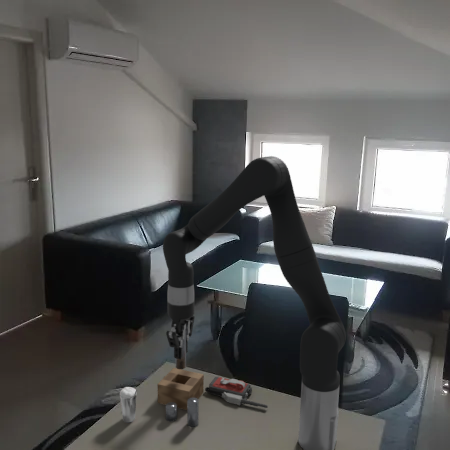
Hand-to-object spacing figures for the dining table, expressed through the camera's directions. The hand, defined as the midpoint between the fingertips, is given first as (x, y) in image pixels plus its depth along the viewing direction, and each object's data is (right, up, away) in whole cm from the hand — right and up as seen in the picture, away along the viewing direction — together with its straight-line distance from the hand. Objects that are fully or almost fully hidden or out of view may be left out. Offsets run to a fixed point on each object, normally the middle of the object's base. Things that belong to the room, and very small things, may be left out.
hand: (181, 355), depth 141 cm
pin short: (-2, -15, -7) cm, 17 cm away
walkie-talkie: (+17, -14, +4) cm, 22 cm away
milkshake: (-13, -16, -8) cm, 22 cm away
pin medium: (+4, -16, -9) cm, 19 cm away
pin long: (0, -3, +1) cm, 4 cm away
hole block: (0, -13, +3) cm, 14 cm away
